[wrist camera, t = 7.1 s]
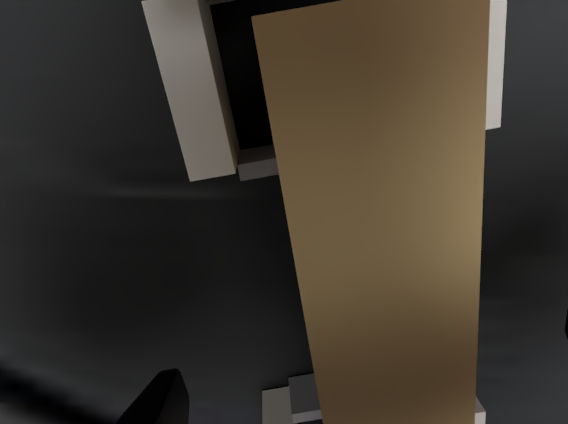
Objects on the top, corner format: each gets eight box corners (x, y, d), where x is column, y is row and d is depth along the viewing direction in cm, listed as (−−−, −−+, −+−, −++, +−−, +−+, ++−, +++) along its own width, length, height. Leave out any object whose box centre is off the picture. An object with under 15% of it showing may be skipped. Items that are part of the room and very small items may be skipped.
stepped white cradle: (451, 477, 16) (551, 699, 11) (290, 504, 16) (307, 739, 11) (455, -210, 8) (910, -817, 2) (126, -150, 8) (-173, -605, 2)
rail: (403, 420, 15) (468, 587, 10) (325, 433, 15) (355, 606, 10) (377, 11, 9) (491, -27, 5) (255, 34, 9) (250, 16, 5)
